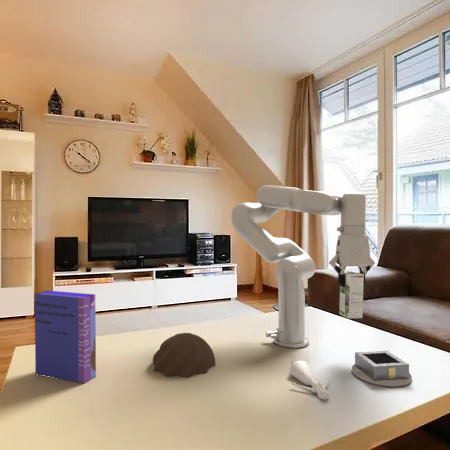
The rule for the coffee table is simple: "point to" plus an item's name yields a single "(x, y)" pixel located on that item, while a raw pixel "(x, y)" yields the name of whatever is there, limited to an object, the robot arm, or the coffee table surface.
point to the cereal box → (65, 335)
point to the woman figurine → (308, 379)
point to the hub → (381, 369)
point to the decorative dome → (184, 356)
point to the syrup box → (352, 295)
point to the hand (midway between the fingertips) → (351, 285)
